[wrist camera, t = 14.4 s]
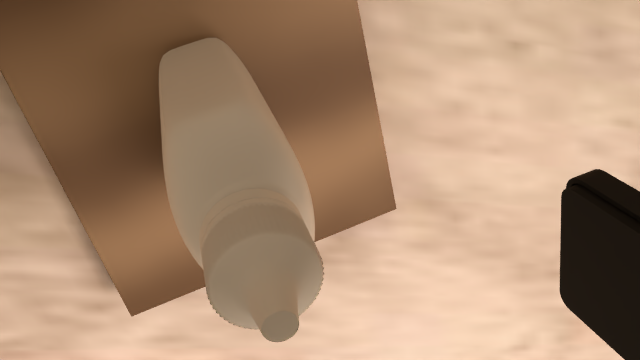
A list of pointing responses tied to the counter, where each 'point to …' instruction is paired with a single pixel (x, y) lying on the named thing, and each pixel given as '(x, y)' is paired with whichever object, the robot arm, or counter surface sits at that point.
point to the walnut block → (145, 125)
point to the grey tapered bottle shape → (237, 190)
